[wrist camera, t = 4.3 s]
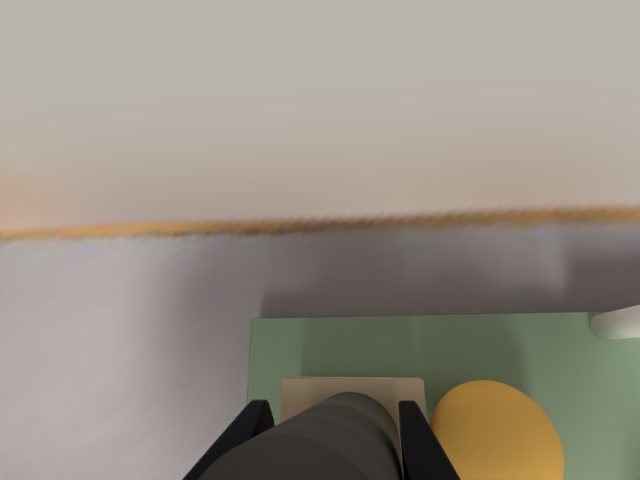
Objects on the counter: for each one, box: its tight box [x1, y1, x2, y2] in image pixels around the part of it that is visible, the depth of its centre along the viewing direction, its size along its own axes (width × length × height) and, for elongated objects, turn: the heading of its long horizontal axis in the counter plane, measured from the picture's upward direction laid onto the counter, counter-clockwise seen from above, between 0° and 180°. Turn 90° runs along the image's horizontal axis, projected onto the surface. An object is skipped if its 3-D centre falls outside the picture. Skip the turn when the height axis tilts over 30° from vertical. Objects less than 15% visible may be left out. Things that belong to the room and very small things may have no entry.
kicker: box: [198, 377, 427, 480], centre depth 10 cm, size 4×5×11 cm
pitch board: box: [247, 312, 640, 480], centre depth 14 cm, size 9×22×1 cm, turn 89°
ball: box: [430, 380, 565, 480], centre depth 12 cm, size 4×4×4 cm
